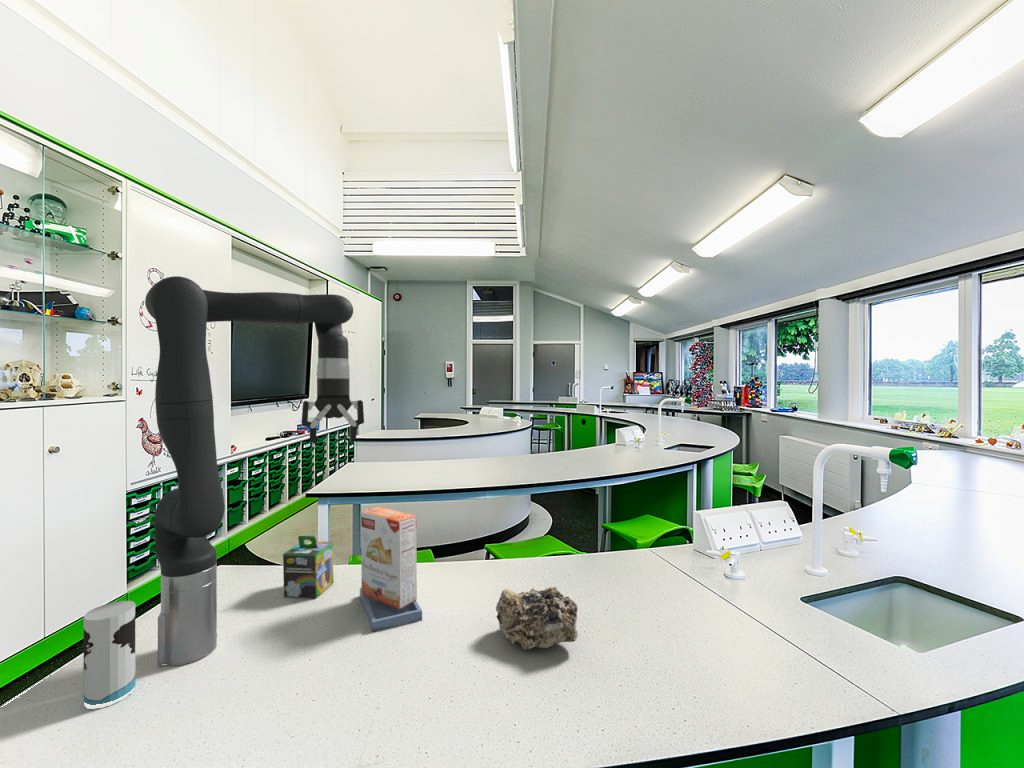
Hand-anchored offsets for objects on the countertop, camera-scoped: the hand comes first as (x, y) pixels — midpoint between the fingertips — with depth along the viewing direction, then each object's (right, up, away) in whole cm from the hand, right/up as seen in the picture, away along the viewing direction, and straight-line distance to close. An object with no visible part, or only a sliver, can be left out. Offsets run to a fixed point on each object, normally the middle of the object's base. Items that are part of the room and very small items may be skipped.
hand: (333, 442), depth 110 cm
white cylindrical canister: (-26, -40, -32) cm, 58 cm away
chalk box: (-9, -40, +8) cm, 42 cm away
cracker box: (+14, -38, -1) cm, 41 cm away
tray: (+14, -40, -2) cm, 43 cm away
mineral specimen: (+50, -40, -14) cm, 66 cm away
